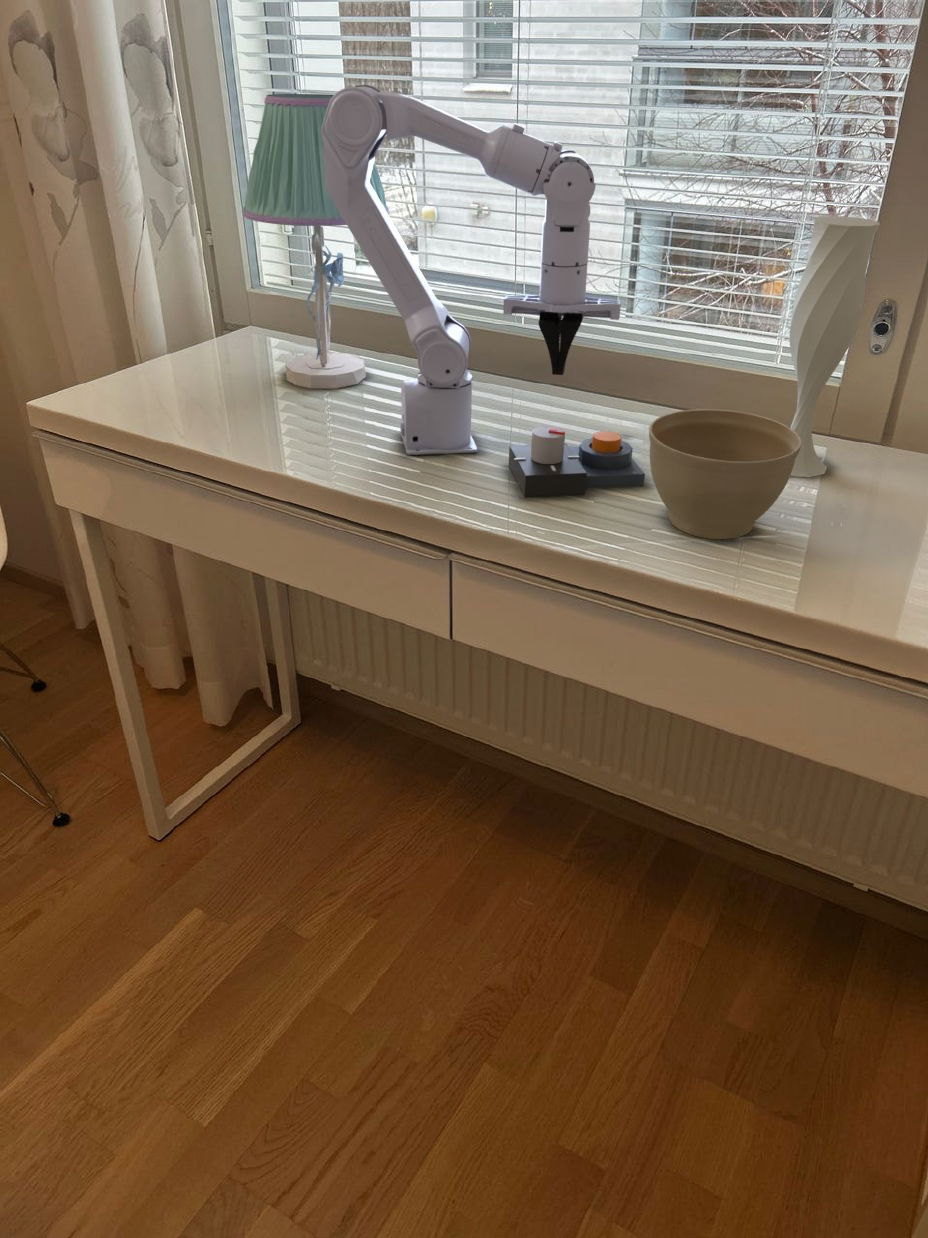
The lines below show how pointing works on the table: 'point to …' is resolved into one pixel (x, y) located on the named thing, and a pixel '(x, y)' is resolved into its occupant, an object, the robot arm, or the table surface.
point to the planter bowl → (720, 468)
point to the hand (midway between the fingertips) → (558, 372)
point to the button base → (609, 466)
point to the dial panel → (546, 474)
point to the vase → (826, 317)
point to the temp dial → (547, 445)
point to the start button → (606, 442)
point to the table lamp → (303, 217)
